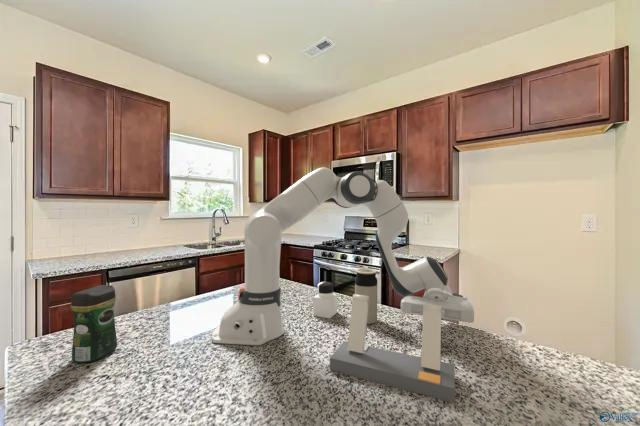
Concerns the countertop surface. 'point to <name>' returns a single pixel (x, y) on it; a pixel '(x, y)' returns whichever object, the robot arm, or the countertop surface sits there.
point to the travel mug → (368, 291)
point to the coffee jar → (93, 323)
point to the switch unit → (396, 371)
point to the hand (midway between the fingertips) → (434, 317)
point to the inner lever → (358, 323)
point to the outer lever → (431, 336)
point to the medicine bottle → (325, 301)
